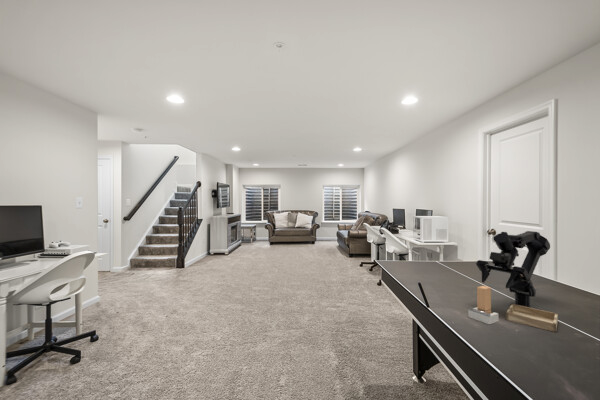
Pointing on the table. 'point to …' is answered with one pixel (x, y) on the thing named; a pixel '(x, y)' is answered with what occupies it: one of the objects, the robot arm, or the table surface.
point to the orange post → (484, 299)
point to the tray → (532, 317)
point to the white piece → (483, 316)
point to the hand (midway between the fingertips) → (494, 284)
